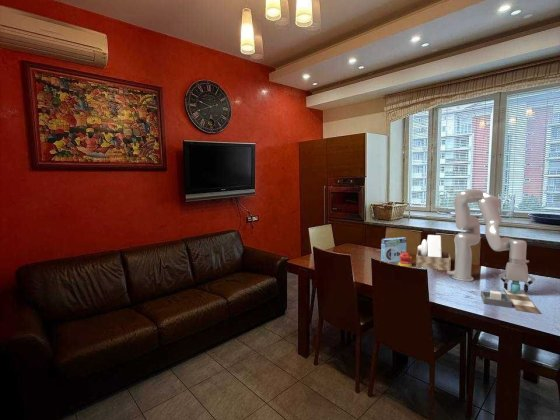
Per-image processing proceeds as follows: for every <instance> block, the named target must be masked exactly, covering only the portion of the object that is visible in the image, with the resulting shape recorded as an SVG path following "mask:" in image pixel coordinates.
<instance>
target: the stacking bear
mask: <svg viewBox="0 0 560 420" xmlns="http://www.w3.org/2000/svg"><path fill="white" fill-rule="evenodd" d="M412 258H413V257H412V256H411V255H410V253H408V252H407V251H406V252H404V253H401V254H400V259H401V260H400V261H399V263H398V265H400V266H406V267H412ZM412 268H413V267H412Z"/></svg>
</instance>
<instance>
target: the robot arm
mask: <svg viewBox="0 0 560 420" xmlns="http://www.w3.org/2000/svg"><path fill="white" fill-rule="evenodd" d="M453 201H454V202H453V204H454V205H453V206H454V211H455V213H454V217H455V227H456V228H457V230H460V231H463V232H459V233H457V234H455V236H454V239H453V240H454V247H455V249H454V251H455V252H454V253H455V254H454V255H455V256H454V259H455V260H454V269H453V270H450V271H448V270H446V274H447V275H451V278H452V279H454V280H457V281H460V282H472V281H474V277H473V276H472V264H473V263H472V261H473V260H472V259H473V257H472V256H473V253H472V248H471V246H475V245H477V244H478V245H479V243H480V241H481V225H480V224H481V223H480V221H479V218H478V217H477V216H474V215H471V209H470V207H469V205H468V204H474V203H476V204H477V205H478V209H479V211H480V213H481V216H482V218H483V220H484V223H485V231H484V233H485V237H486V241H487V243H488V245H489V247H490V248H491V249H492V250H493V251H494V252H503V251H509V258H508V262H507V263H506V265H505V272H502V273H499V274H498V277H499V279H500V280H501V281H502V282H503V289H504V290H509V289H508V284H509V283H508V282H509V281H511V282H512V281H519V282H520V283H521V282H523V283H524V285H523V292H524V293H528V291H529V286H531V284H533V283H534V282H535V280H536V278H535V277H533V276H532V275H530V274H529V272H528V271H529V270H528V269H529V268H528V265H527V264H529V263H530V260H529V259H528V260H527V247H528V246H527V245H528V244H527V241H526V240H522V239H515V238H511V237H506V236H505V237H501V236H500V233H499V226H500V225H501V223H502V222H503V221H502V220H503V219H502V216H501V215H500V212H499V210H498V209H500V208H501V206H502V202H501V199H500V198H498V197H497V196H494V195H492V194H490V193H488V192H486V191H483V190H481V189H466V190H461V191H459V192H458V193H457V194H456V195H455V197H454V200H453ZM504 277H505V278H504ZM529 279H530V280H529ZM528 280H529V281H528Z"/></svg>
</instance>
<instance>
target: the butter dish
mask: <svg viewBox="0 0 560 420" xmlns="http://www.w3.org/2000/svg"><path fill="white" fill-rule="evenodd" d="M417 250H419V251H421V254H422V256H427V257H438V258H441V252H442V235H436V234H427V238H426V239H425V238H424V239H422V241H421V244H419V245H418V246H417Z"/></svg>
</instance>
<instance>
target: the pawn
mask: <svg viewBox="0 0 560 420" xmlns="http://www.w3.org/2000/svg"><path fill="white" fill-rule="evenodd" d="M510 290H511V293H514V294H520V292H521V284H520V281H512V280H511V283H510Z"/></svg>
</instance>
